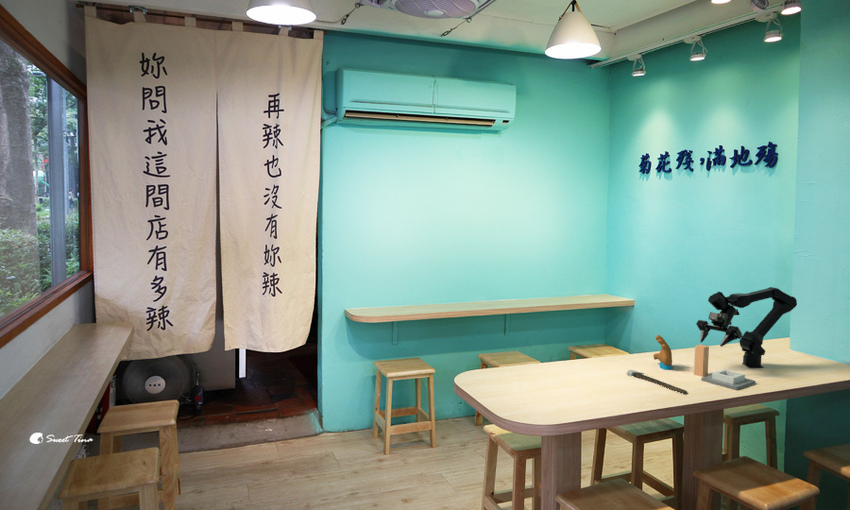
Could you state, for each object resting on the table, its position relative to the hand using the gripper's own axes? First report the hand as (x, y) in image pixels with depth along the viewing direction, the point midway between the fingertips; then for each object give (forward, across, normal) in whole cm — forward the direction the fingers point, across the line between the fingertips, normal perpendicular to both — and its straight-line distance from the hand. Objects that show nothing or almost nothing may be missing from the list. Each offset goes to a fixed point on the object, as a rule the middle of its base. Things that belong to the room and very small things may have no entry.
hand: (710, 343), depth 256 cm
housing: (+14, +12, +4) cm, 19 cm away
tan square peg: (+14, 0, +4) cm, 15 cm away
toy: (+16, -17, +2) cm, 23 cm away
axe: (+32, -3, -12) cm, 34 cm away
